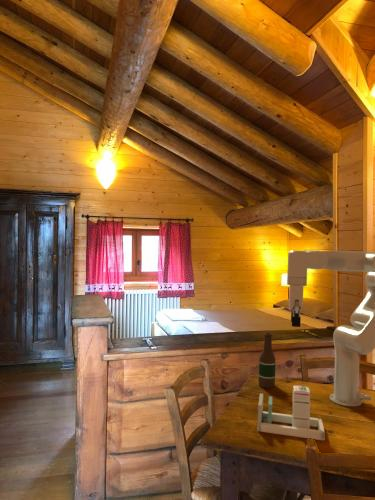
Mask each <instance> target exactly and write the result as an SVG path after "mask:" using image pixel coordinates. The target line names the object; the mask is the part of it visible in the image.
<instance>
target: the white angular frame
mask: <svg viewBox="0 0 375 500" xmlns="http://www.w3.org/2000/svg"><path fill="white" fill-rule="evenodd" d="M263 409H264V393H259V398H258V406H257V429H256V430H257V432H262V433H269V434H276V435H281V436H282V435H283V436H288V437H289V436H291V437H297V438H304V439H310V438H311V440H318V441H323V442H324V441H325V440H326V433H325V432H326V431H325V427H324V424H323V420H322V418H317V417H311V416H310V427H315V428H317V429H312V428H310V429H306V428H298V427H292V414H288V413H280V412H279V413H278V412H272V422H276V423H277V422H278V423H282V424H275V423H271V424H269V423H263V418H268V411H263ZM283 423H285V424H291V425H290V426H289V425H285V424H283Z"/></svg>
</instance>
